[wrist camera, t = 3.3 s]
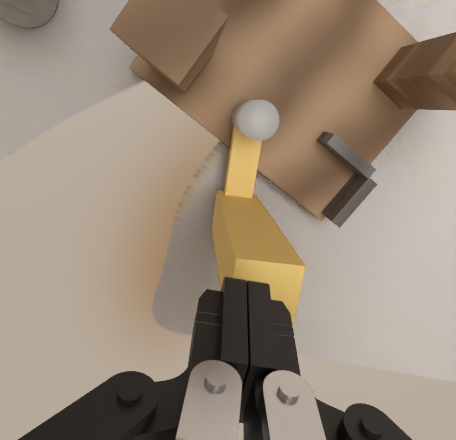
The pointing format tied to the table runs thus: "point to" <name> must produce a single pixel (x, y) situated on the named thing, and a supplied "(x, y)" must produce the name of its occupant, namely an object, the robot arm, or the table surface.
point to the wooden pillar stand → (295, 82)
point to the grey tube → (27, 12)
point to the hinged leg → (253, 214)
